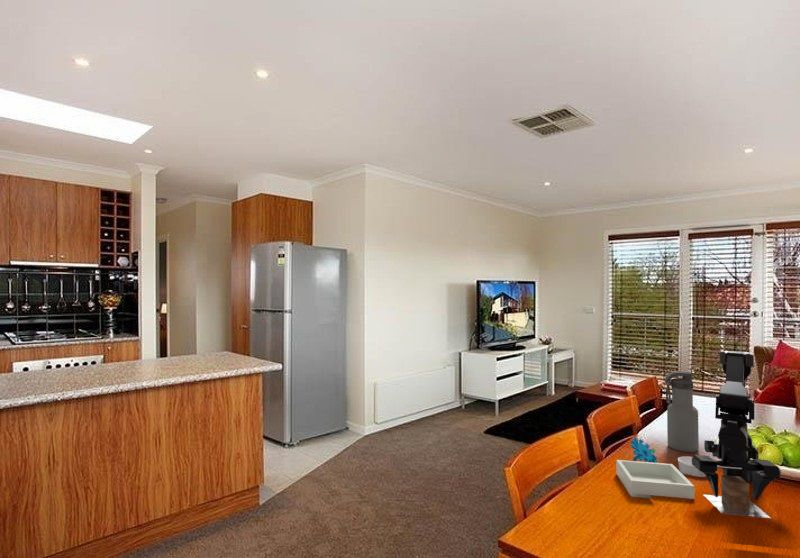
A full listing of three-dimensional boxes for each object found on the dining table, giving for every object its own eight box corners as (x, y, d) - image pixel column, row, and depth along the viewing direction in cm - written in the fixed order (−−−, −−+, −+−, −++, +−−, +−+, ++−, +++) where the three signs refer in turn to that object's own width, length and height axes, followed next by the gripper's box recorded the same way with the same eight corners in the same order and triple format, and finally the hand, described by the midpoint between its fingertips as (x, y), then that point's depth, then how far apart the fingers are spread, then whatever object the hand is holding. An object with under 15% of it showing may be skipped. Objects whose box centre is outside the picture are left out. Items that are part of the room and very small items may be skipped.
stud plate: (747, 502, 124) (747, 487, 124) (771, 522, 113) (771, 505, 113) (703, 498, 126) (702, 483, 126) (722, 517, 115) (721, 501, 115)
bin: (672, 478, 139) (672, 464, 139) (694, 502, 123) (694, 486, 123) (616, 474, 142) (616, 459, 142) (631, 496, 127) (631, 480, 127)
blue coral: (646, 465, 145) (627, 436, 152) (633, 474, 149) (615, 445, 155) (666, 464, 150) (648, 436, 157) (653, 472, 154) (636, 445, 160)
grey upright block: (740, 502, 121) (740, 476, 121) (749, 510, 117) (749, 483, 117) (721, 500, 122) (721, 475, 122) (730, 508, 118) (729, 481, 118)
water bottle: (668, 450, 164) (667, 373, 164) (664, 442, 173) (663, 369, 173) (701, 454, 160) (700, 375, 160) (695, 445, 169) (694, 371, 169)
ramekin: (700, 483, 136) (700, 468, 136) (671, 472, 144) (671, 459, 144) (717, 477, 140) (717, 463, 140) (688, 467, 148) (687, 454, 148)
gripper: (757, 432, 126) (758, 488, 125) (683, 428, 130) (684, 482, 129) (781, 446, 115) (782, 507, 114) (700, 440, 119) (701, 500, 118)
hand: (735, 498), depth 119 cm, fingers open, 9 cm apart
